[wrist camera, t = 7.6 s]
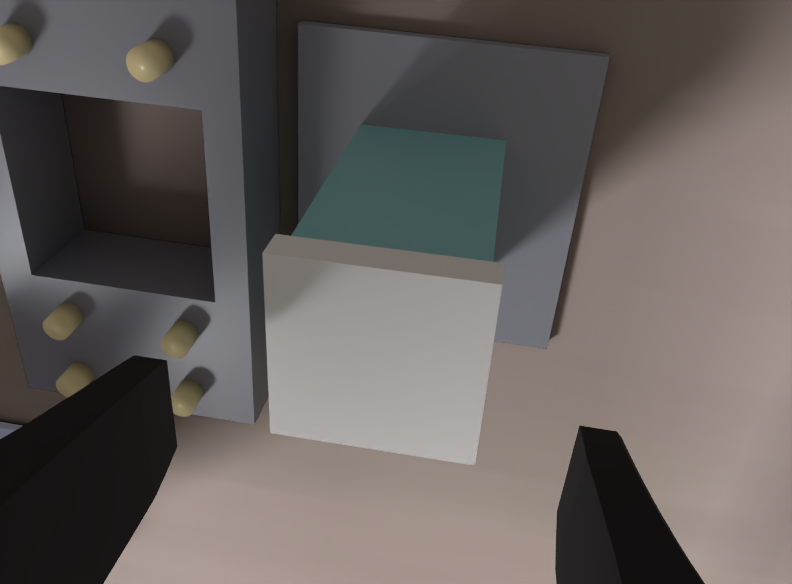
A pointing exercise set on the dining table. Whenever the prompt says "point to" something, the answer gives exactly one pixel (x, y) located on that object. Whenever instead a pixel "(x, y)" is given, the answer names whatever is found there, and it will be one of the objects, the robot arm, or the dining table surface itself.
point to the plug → (389, 297)
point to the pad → (468, 116)
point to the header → (132, 256)
